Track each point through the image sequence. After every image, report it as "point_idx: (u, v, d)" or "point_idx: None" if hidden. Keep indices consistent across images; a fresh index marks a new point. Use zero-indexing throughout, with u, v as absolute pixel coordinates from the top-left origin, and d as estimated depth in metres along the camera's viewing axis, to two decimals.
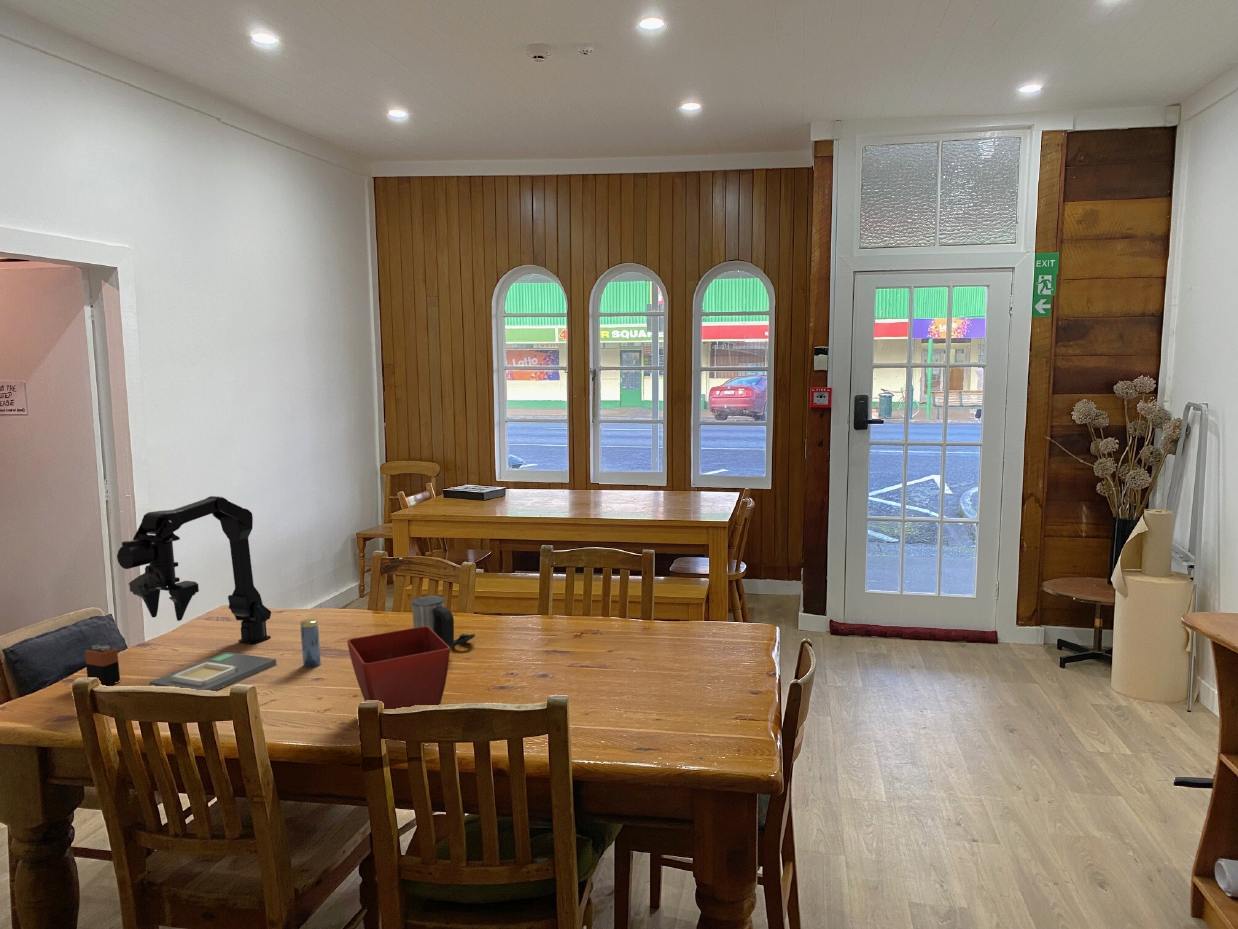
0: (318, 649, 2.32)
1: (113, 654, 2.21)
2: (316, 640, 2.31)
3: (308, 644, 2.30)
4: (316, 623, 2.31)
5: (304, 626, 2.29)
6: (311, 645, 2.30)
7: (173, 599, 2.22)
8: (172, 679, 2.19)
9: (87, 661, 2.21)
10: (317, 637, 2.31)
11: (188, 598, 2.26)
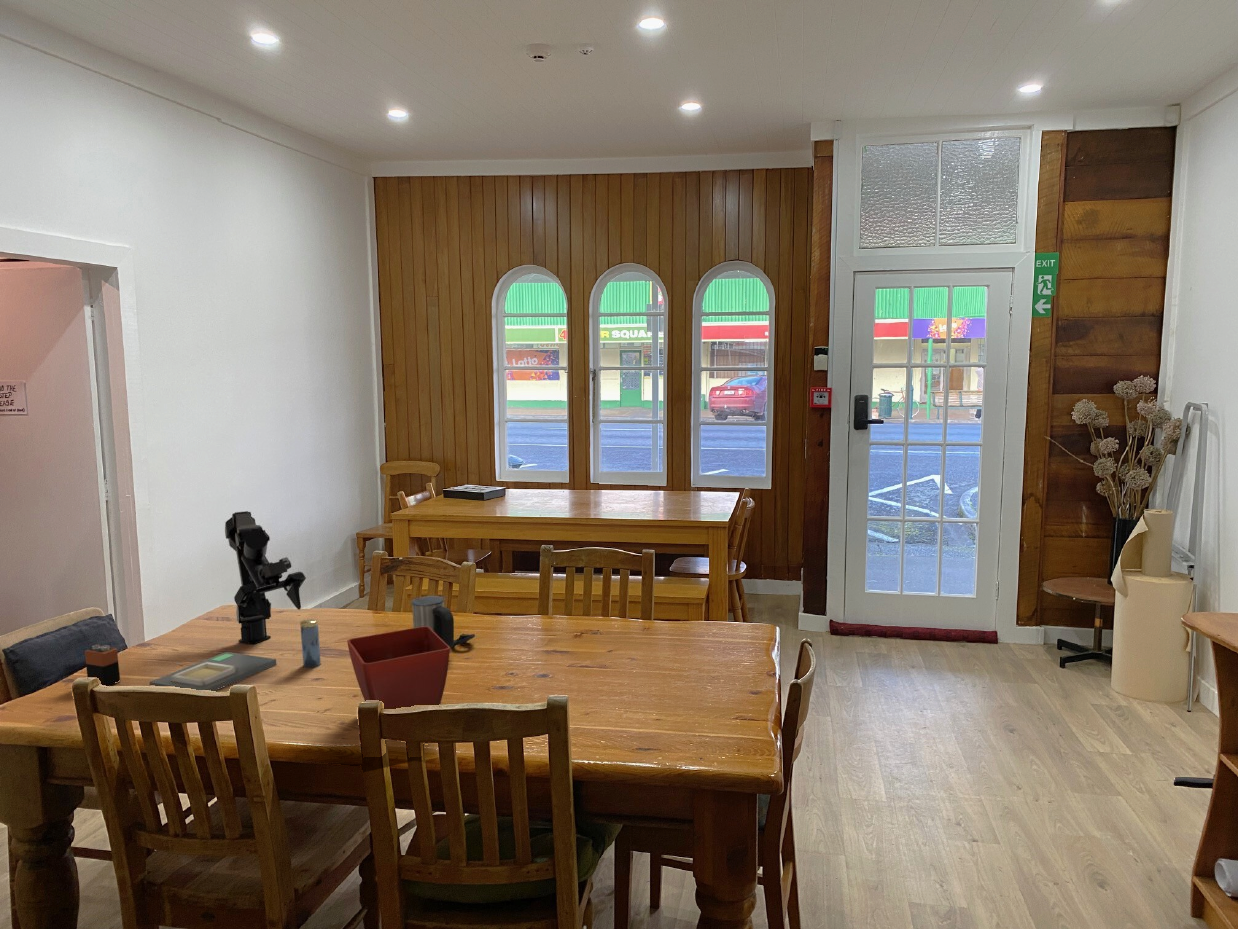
0: (318, 649, 2.32)
1: (113, 654, 2.21)
2: (316, 640, 2.31)
3: (308, 644, 2.30)
4: (316, 623, 2.31)
5: (304, 626, 2.29)
6: (311, 645, 2.30)
7: (298, 583, 2.40)
8: (172, 679, 2.19)
9: (87, 661, 2.21)
10: (317, 637, 2.31)
11: None
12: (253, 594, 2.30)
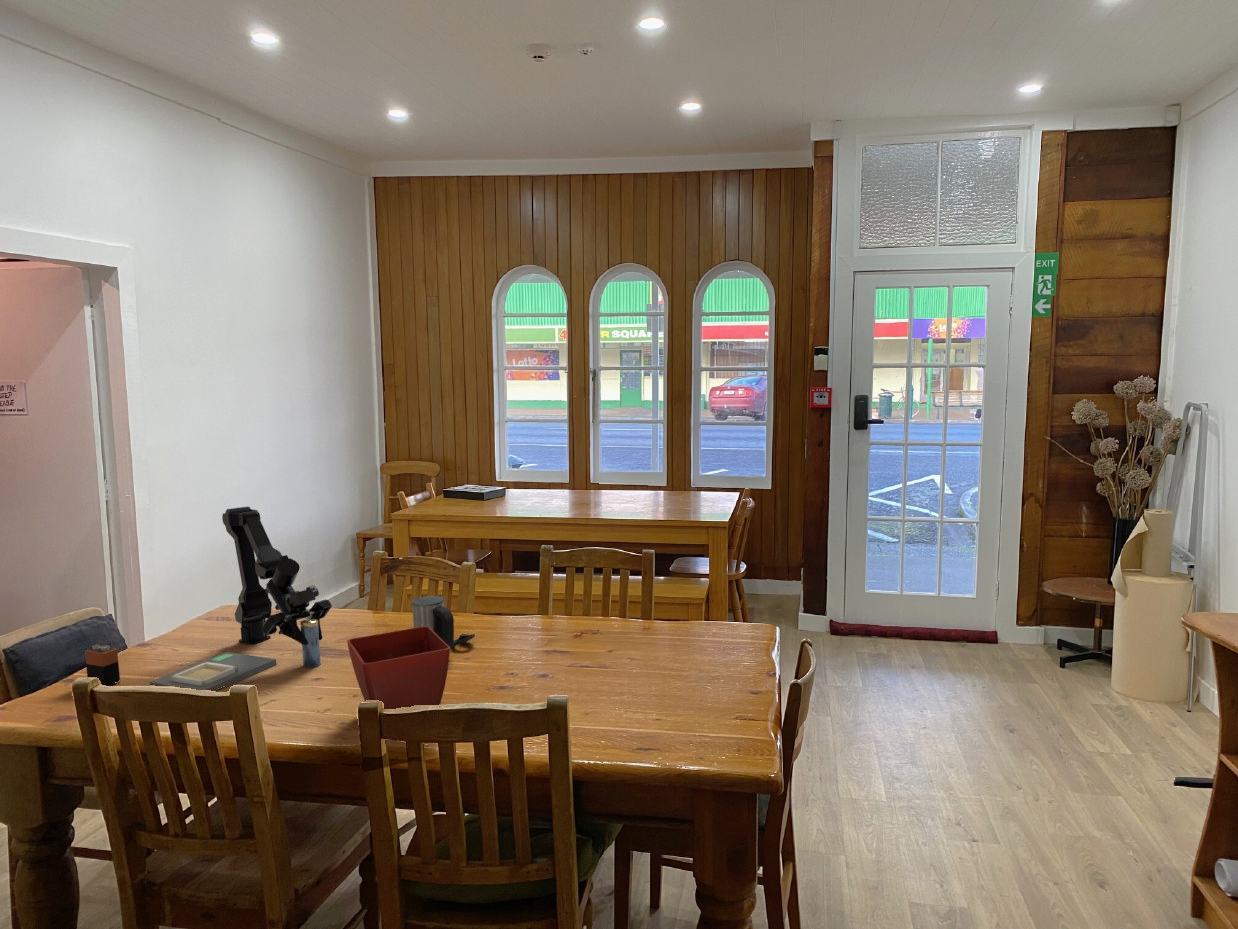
0: (318, 649, 2.32)
1: (113, 654, 2.21)
2: (316, 640, 2.31)
3: (308, 644, 2.30)
4: (316, 623, 2.31)
5: (304, 626, 2.29)
6: (311, 645, 2.30)
7: (318, 613, 2.35)
8: (172, 679, 2.19)
9: (87, 661, 2.21)
10: (317, 637, 2.31)
11: None
12: (290, 621, 2.28)
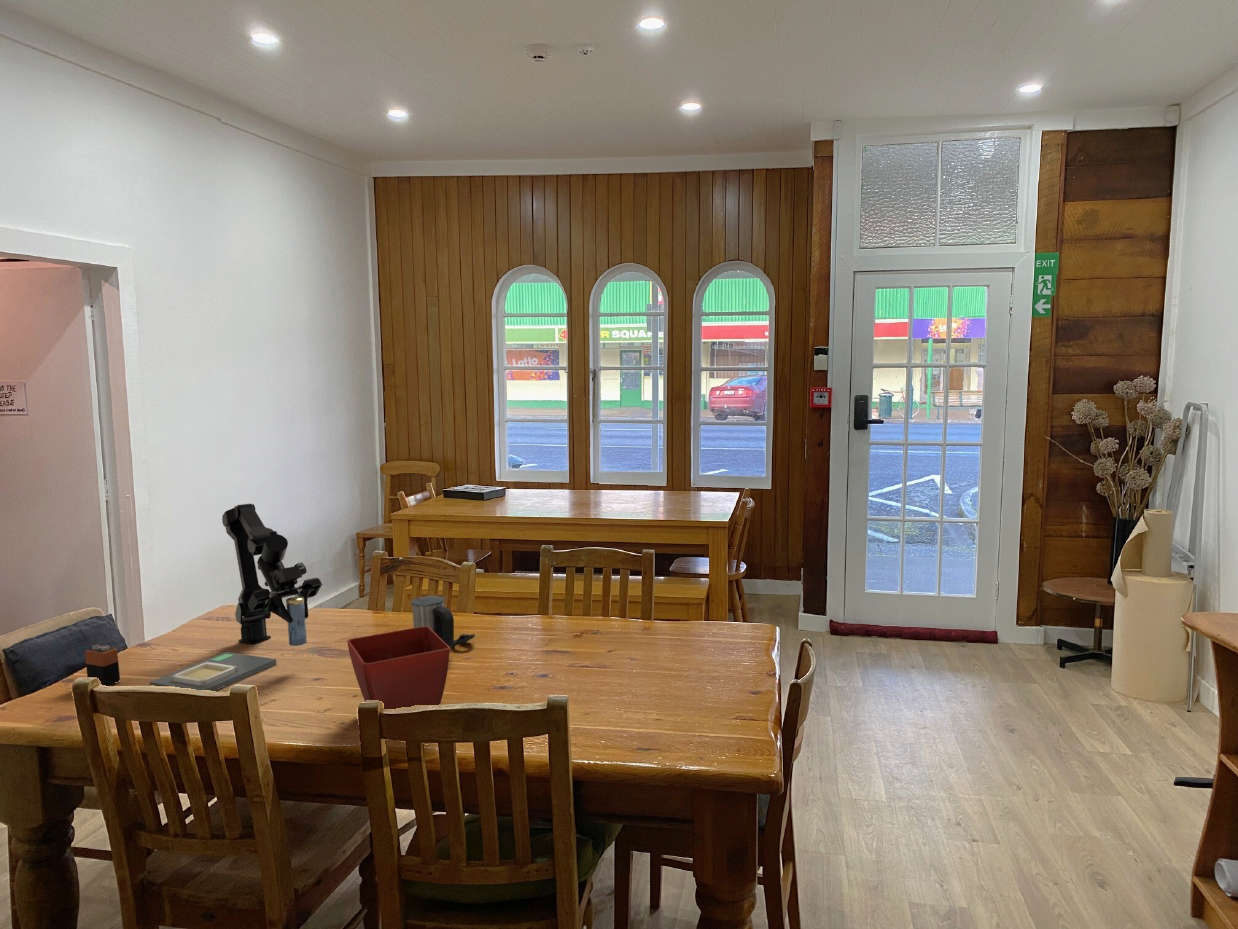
0: (303, 627, 2.28)
1: (113, 654, 2.21)
2: (301, 618, 2.27)
3: (293, 621, 2.27)
4: (301, 601, 2.27)
5: (289, 603, 2.26)
6: (295, 623, 2.27)
7: (306, 591, 2.32)
8: (172, 679, 2.19)
9: (87, 661, 2.21)
10: (302, 615, 2.28)
11: None
12: (274, 598, 2.25)
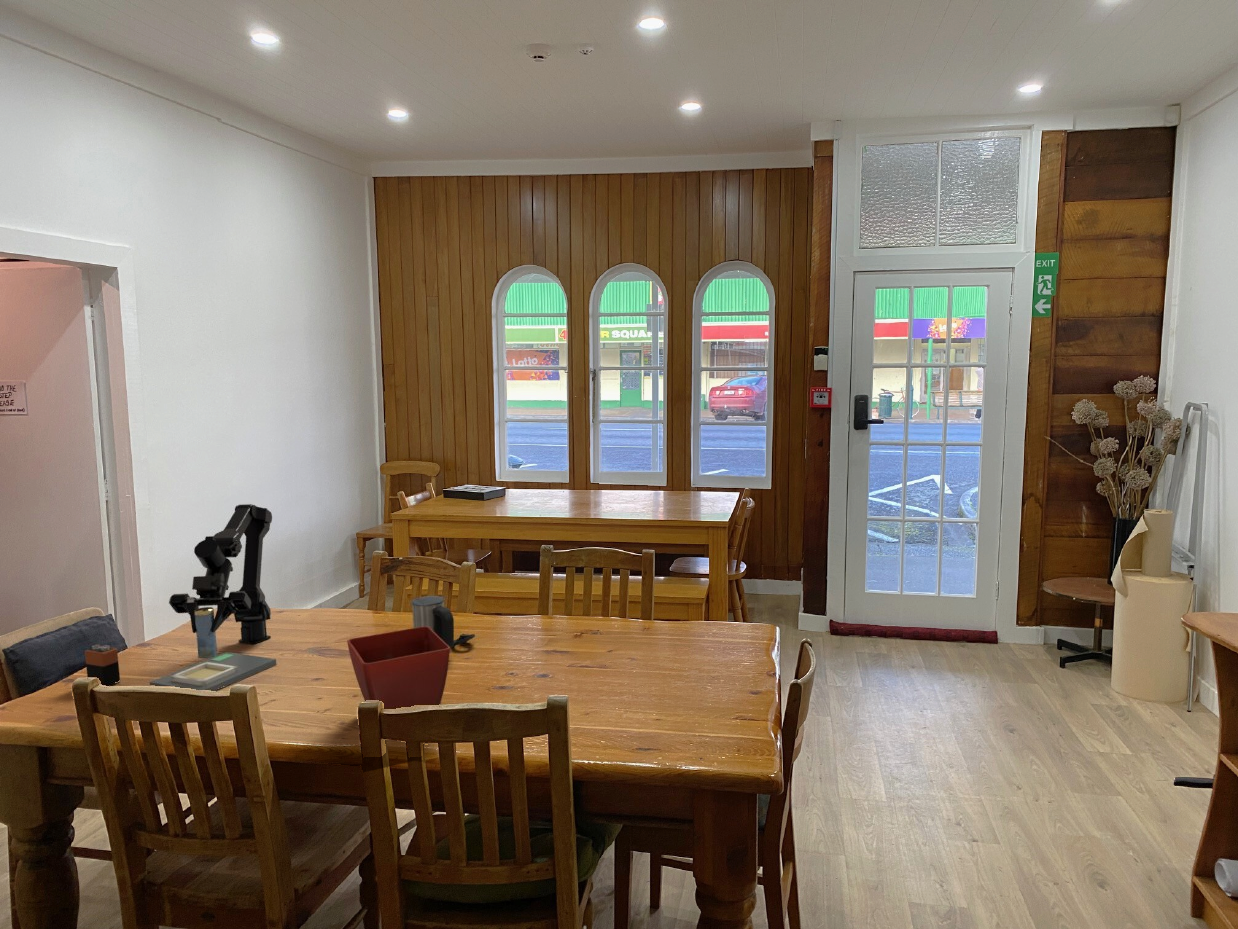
0: (206, 641, 2.19)
1: (113, 654, 2.21)
2: (202, 631, 2.18)
3: (196, 632, 2.19)
4: (203, 613, 2.18)
5: None
6: (197, 635, 2.19)
7: (222, 603, 2.21)
8: (172, 679, 2.19)
9: (87, 661, 2.21)
10: (205, 628, 2.19)
11: (227, 614, 2.24)
12: (186, 604, 2.21)
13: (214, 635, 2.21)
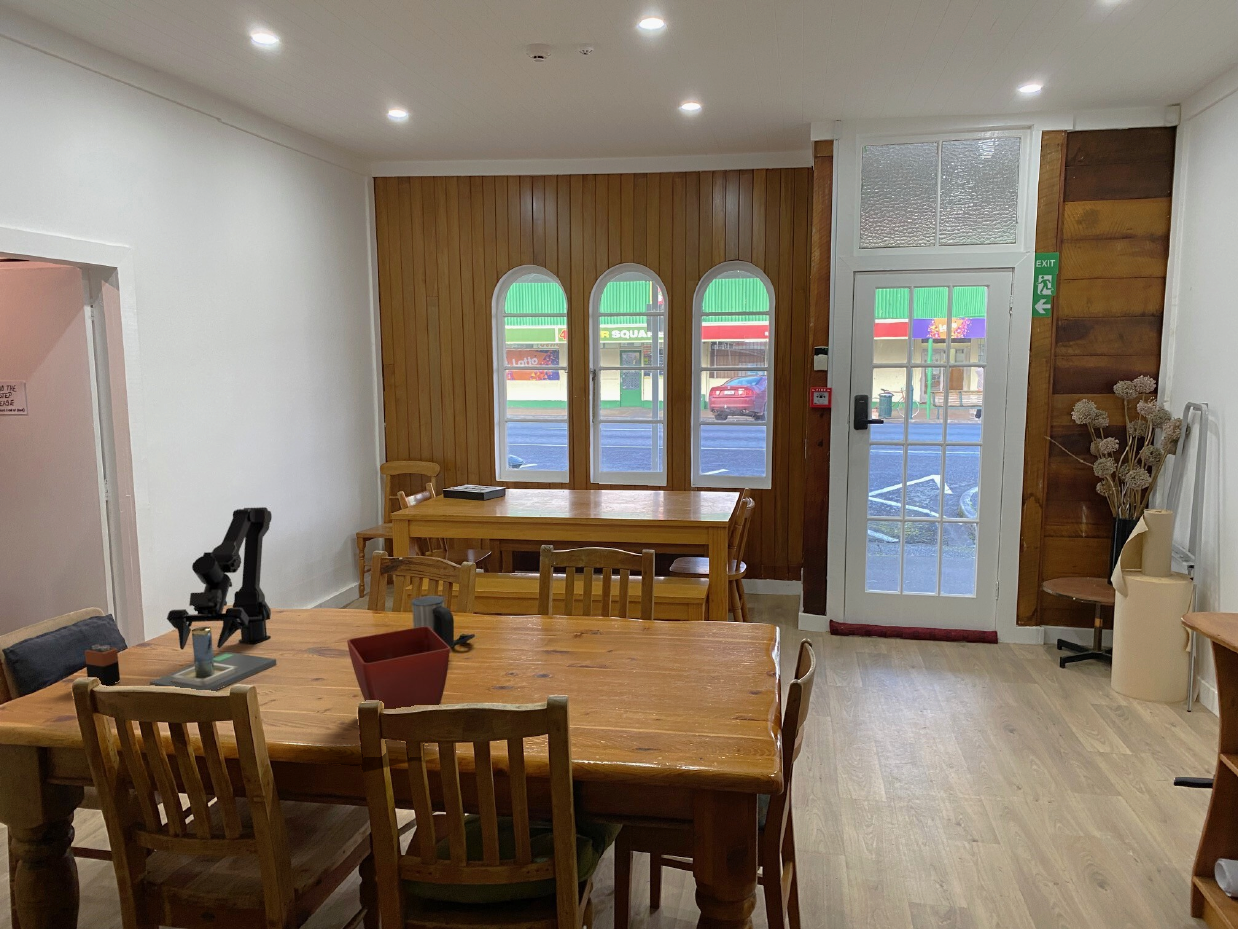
0: (203, 661, 2.20)
1: (113, 654, 2.21)
2: (199, 650, 2.19)
3: (194, 652, 2.20)
4: (201, 633, 2.19)
5: (192, 633, 2.20)
6: (195, 655, 2.20)
7: (227, 619, 2.22)
8: (172, 679, 2.19)
9: (87, 661, 2.21)
10: (202, 648, 2.19)
11: (233, 630, 2.25)
12: (174, 620, 2.21)
13: (211, 655, 2.21)
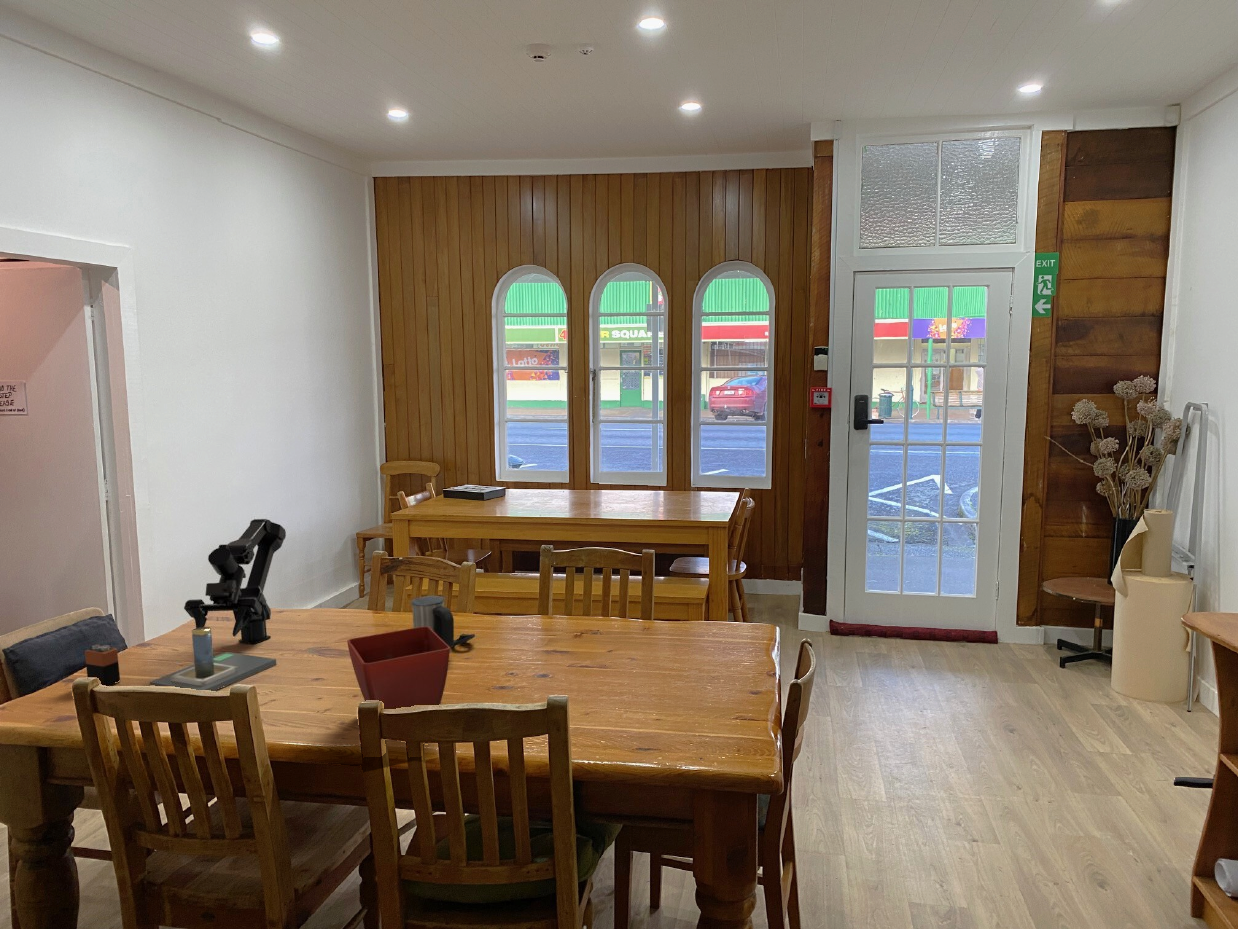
0: (203, 661, 2.20)
1: (113, 654, 2.21)
2: (199, 651, 2.19)
3: (193, 652, 2.20)
4: (200, 633, 2.19)
5: (192, 633, 2.20)
6: (195, 655, 2.19)
7: (242, 609, 2.31)
8: (172, 679, 2.19)
9: (87, 661, 2.21)
10: (202, 648, 2.19)
11: (247, 619, 2.34)
12: (191, 610, 2.31)
13: (211, 655, 2.21)
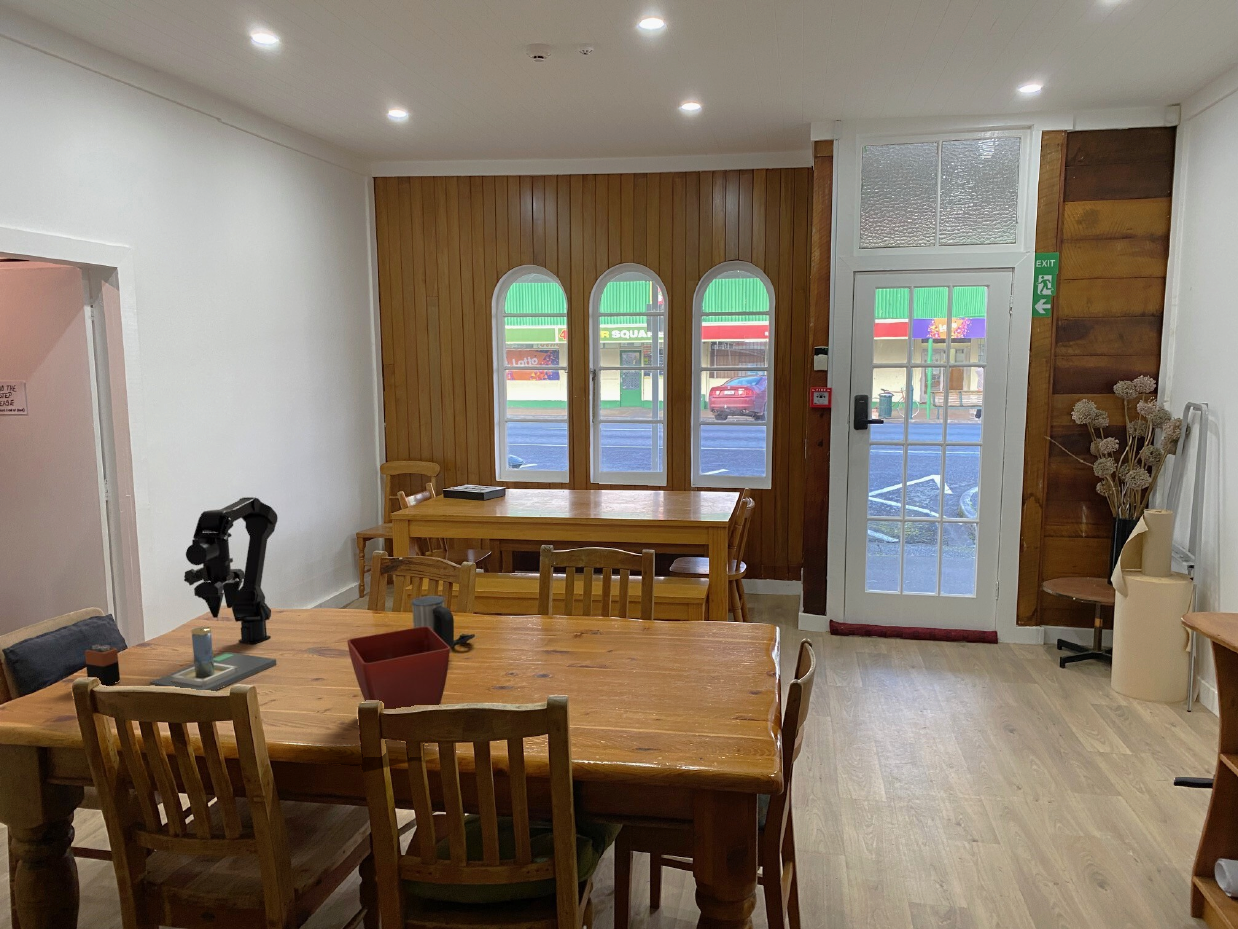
0: (203, 660, 2.20)
1: (113, 654, 2.21)
2: (199, 650, 2.19)
3: (193, 652, 2.20)
4: (200, 633, 2.19)
5: None
6: (194, 655, 2.20)
7: None
8: (172, 679, 2.19)
9: (87, 661, 2.21)
10: (202, 648, 2.19)
11: (217, 599, 2.31)
12: None
13: (211, 655, 2.21)
